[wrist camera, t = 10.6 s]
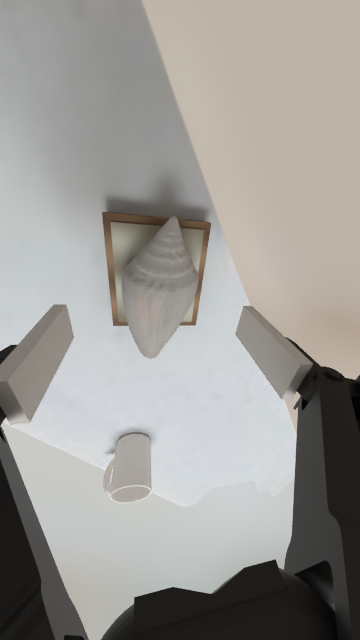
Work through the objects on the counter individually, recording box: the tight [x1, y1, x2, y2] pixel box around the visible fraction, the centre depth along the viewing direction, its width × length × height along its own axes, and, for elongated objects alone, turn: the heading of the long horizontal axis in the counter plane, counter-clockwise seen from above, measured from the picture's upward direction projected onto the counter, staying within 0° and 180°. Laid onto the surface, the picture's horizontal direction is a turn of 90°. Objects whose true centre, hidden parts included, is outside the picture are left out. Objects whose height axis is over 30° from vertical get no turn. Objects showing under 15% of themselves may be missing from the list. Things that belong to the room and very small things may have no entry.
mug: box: [103, 433, 152, 503], centre depth 43 cm, size 12×8×10 cm
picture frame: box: [102, 212, 211, 326], centre depth 26 cm, size 14×12×3 cm
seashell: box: [121, 216, 199, 358], centre depth 23 cm, size 9×11×15 cm
